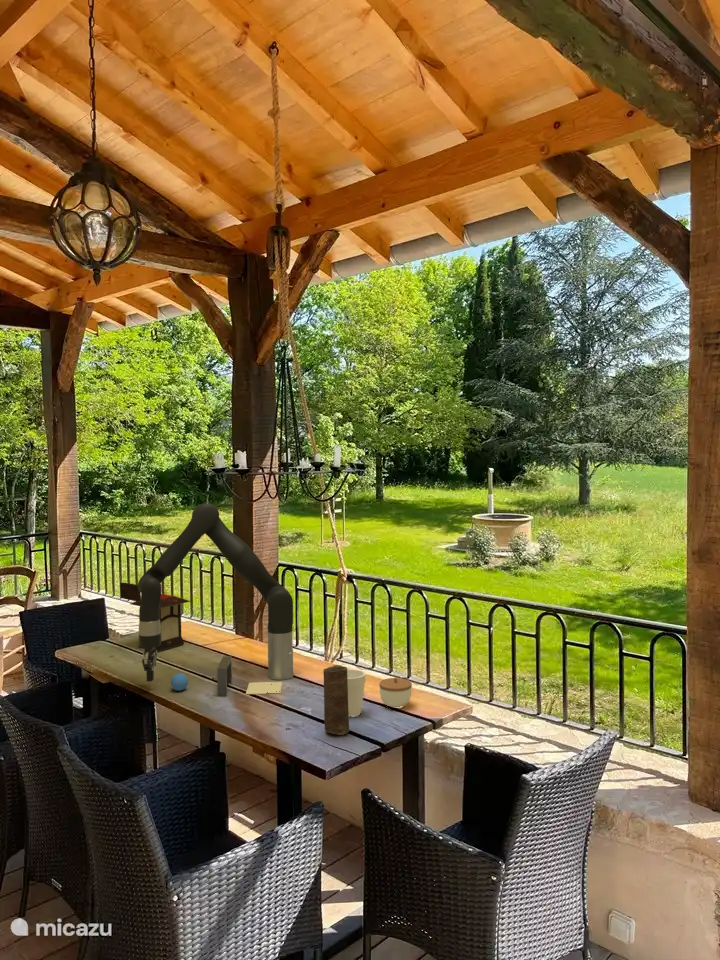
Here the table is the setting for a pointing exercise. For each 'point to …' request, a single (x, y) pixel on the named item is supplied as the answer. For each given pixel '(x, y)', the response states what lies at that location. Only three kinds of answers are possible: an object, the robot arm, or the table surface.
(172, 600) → the lantern
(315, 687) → the table surface
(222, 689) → the bridge
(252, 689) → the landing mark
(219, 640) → the table surface
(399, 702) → the lidded jar
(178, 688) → the ball
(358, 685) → the foam cup
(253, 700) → the table surface
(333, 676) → the candle
